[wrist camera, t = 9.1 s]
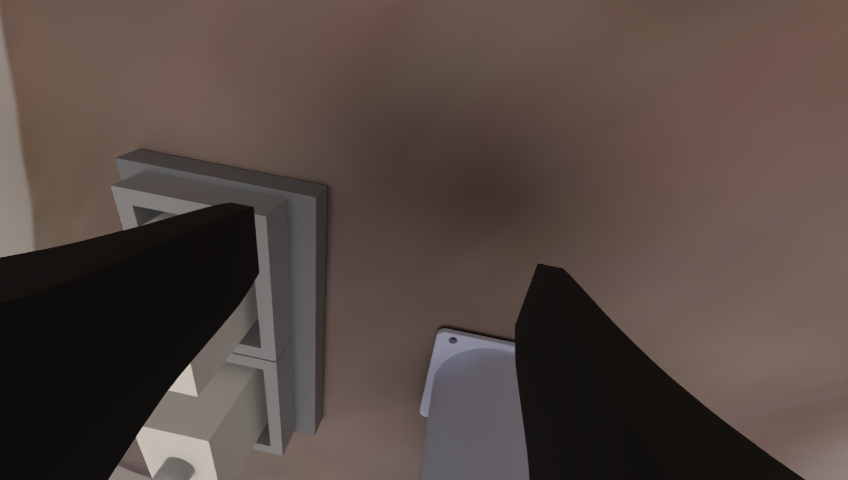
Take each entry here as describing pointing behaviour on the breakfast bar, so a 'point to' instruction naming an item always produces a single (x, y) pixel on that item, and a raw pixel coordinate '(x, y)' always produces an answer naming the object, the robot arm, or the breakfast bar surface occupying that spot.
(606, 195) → the breakfast bar surface
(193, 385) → the plug
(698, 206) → the breakfast bar surface
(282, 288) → the grey compartment holder
